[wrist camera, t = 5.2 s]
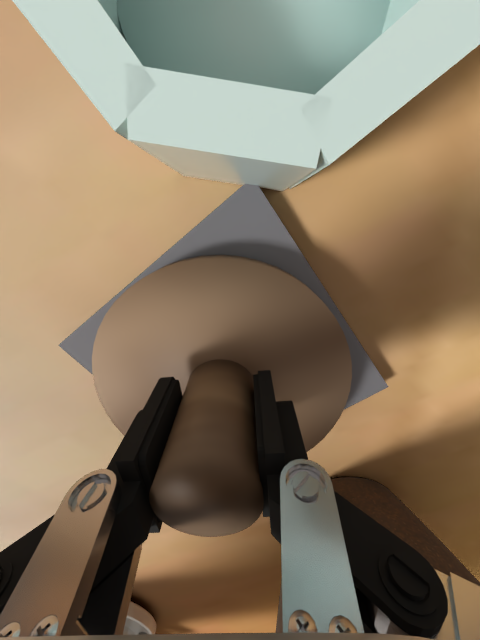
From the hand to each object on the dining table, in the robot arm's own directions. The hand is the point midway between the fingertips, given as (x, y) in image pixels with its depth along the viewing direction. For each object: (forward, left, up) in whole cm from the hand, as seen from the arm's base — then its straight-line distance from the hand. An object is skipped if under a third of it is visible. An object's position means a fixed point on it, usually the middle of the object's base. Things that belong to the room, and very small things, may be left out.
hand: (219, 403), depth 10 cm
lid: (0, 0, -2) cm, 2 cm away
